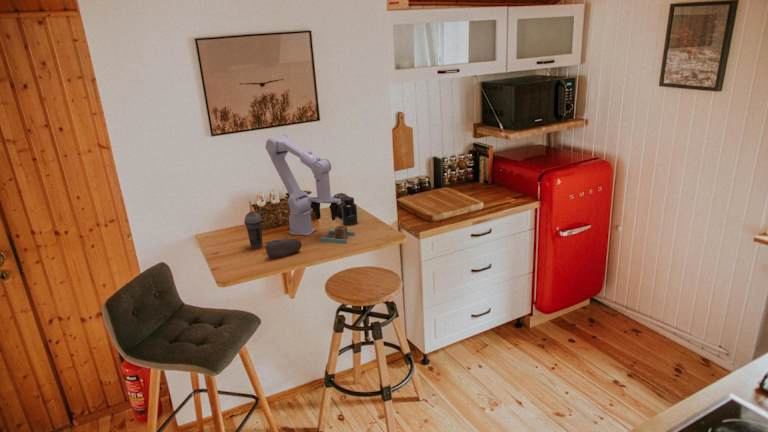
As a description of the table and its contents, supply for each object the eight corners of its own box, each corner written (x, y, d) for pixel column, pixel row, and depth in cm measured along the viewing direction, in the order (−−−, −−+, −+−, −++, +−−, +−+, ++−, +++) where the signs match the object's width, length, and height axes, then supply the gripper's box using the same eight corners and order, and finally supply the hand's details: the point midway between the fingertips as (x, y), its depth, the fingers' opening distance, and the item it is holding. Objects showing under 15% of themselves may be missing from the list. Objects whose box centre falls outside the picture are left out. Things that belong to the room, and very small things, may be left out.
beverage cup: (250, 251, 217) (243, 205, 211) (246, 246, 224) (239, 201, 217) (267, 247, 221) (261, 202, 214) (263, 242, 227) (256, 198, 220)
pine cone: (343, 222, 246) (341, 201, 243) (328, 212, 261) (326, 192, 258) (363, 217, 251) (361, 197, 248) (347, 208, 266) (345, 189, 263)
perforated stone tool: (300, 249, 217) (298, 233, 215) (304, 253, 213) (302, 237, 211) (264, 257, 212) (262, 240, 209) (267, 261, 207) (265, 245, 205)
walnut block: (335, 240, 225) (334, 229, 223) (339, 236, 228) (338, 225, 227) (344, 240, 223) (343, 229, 222) (348, 237, 227) (347, 226, 225)
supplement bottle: (351, 226, 239) (349, 201, 235) (339, 224, 243) (337, 199, 239) (360, 222, 244) (358, 197, 241) (349, 219, 248) (347, 195, 245)
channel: (320, 241, 224) (319, 238, 224) (329, 233, 233) (329, 230, 232) (346, 243, 220) (345, 240, 220) (354, 235, 229) (354, 232, 228)
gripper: (303, 190, 220) (306, 221, 224) (335, 192, 215) (338, 223, 219) (311, 185, 226) (314, 215, 230) (342, 187, 221) (344, 217, 225)
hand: (326, 219), depth 225 cm, fingers open, 6 cm apart
